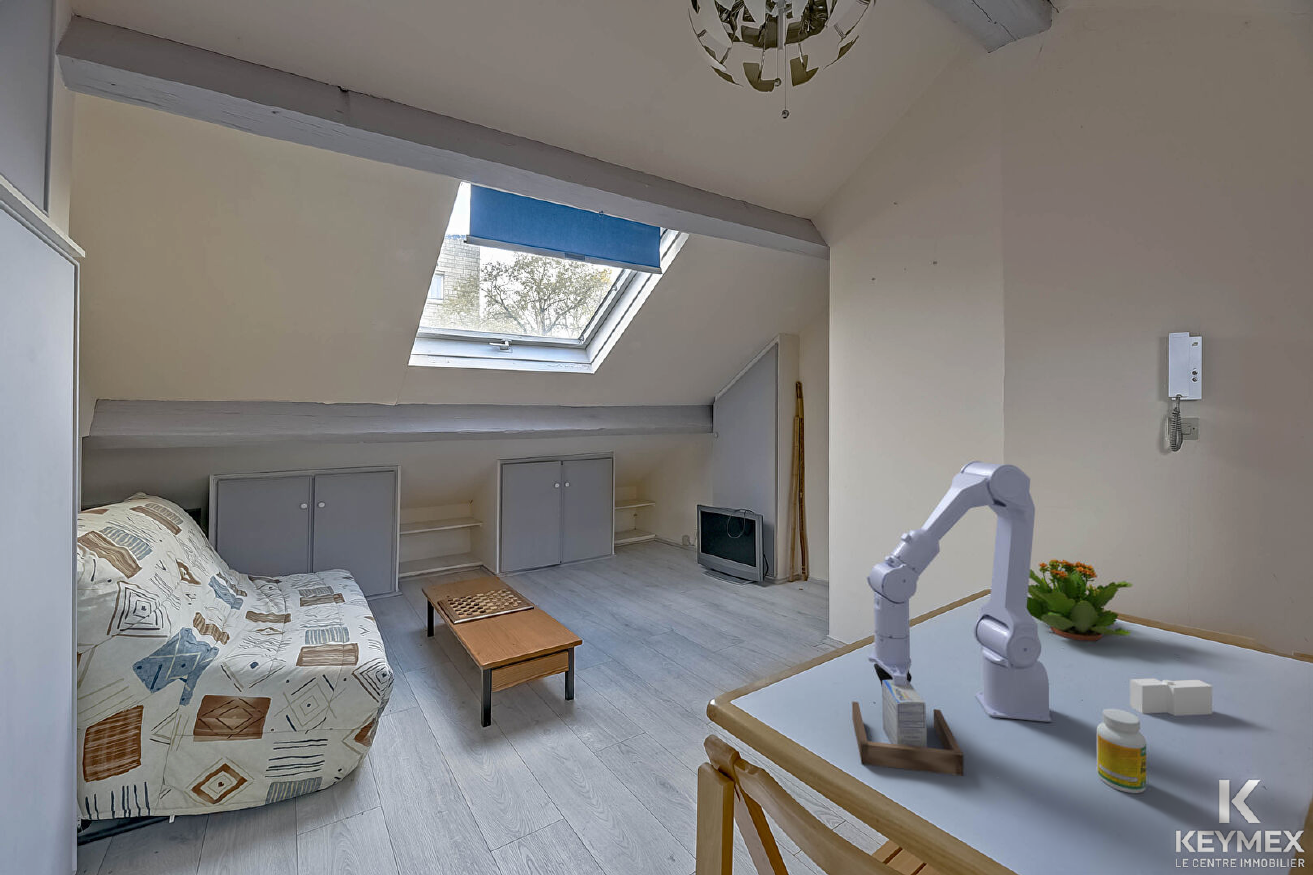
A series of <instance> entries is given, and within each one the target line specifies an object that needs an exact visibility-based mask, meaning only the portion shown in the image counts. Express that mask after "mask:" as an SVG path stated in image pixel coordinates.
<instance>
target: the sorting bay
mask: <svg viewBox="0 0 1313 875" xmlns="http://www.w3.org/2000/svg"><path fill="white" fill-rule="evenodd" d="M851 702H852V703H851V706H852V707H851V709H852V711H851V712H852V717H851V718H852V723H853V727H854V734H855V737H856V743H857V748H858V752H859V758H860V761H861V762H860V763H861V764H862V765H868V766H869V765H871V766H879V767H886V768H887V767H888V768H894V769H904V770H910V771H911V770H912V771H921V772H928V773H937V774H944V775H945V774H947V775H953V776H954V775H955V776H962V777H964V776H965V775H964V754H963V751H962V750H961V747H960V746H959V744H958V742H957V740H956V738H955V736H954V735H953V733H952V730H951V729H950V726H949V725H948V723H947V721H946V719H945V717H944V715H943V713H942V710H941V709H937V708H935V709H933V728H934V730H935V733H936V735H937V738H939V741H940V743H941V745H942V748H943V749H940V748H934V747H927V748H925V747H916V746H907V745H898V744H892V743H888V742H878V741H871V740H870V741H869V740H868V738H867V733H866V729H865V725H864V721H863V716H862V712H861V708H860V707H861V706H860V704H859V702H858V701H851Z"/></svg>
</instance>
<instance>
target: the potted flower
mask: <svg viewBox="0 0 1313 875" xmlns="http://www.w3.org/2000/svg"><path fill="white" fill-rule="evenodd" d="M1038 566H1039V569H1038V571H1039V572H1041V573H1042V577H1039V576H1038V574H1036V573H1035V571H1034V570H1032V569H1031V568H1030V574H1029V579H1030V580H1032V581H1034V582H1035V584H1029V586H1028V595H1029V596H1030V597H1029V596H1028V597H1027V610H1028V611H1029V613H1030V614H1031V616H1032V617H1033V618H1034V619H1035V620H1038V621H1041V622H1043V623H1044V624H1046V625H1048V626H1050V629H1051V631H1052V632H1054V634H1056V635H1058V636H1060V637H1063V638H1067V639H1071V640H1076V641H1084V642H1085V641H1087V642H1094V641H1098V640H1100V639H1101V638H1102V637H1103V635H1106V636H1130V635H1131V634H1130V633H1131V631H1129V630H1125V629H1123V627H1120V628H1116V629H1112V628H1107V627H1111V626H1112V625H1114V624H1115V622H1117V619H1118V617H1119V615H1118V613H1115V612H1114V611H1112V610H1105V606H1107V605H1108V603H1109V602H1110V601H1111V600H1113V598H1114V597H1115V595H1116V593H1117V592H1118V590H1119V589H1121V588H1131V587H1133V584H1132V583H1131V582H1127V581H1126V580H1124V581H1123V580H1122V581H1117V583H1116V582H1115V581H1112V582H1109V584H1108V585H1107V584H1106V585H1105V586H1103V585H1102V584H1100V585H1098V586H1097V587H1096V586H1093V585H1092V584H1091V583H1090V584H1089V585H1088V582H1094V581H1095V578H1097V577H1098V574H1096V571H1095V569H1094V567H1093V566H1092V565H1089V564H1085V563H1082V562H1081V561H1076V562H1075V563H1073V562H1069V561H1068V560H1066V559H1062V561H1061V560H1058V559H1056V558H1053V559H1050V560H1049V562H1048V564H1047V563H1045V562H1041V563H1039V564H1038ZM1059 568H1060V569H1059ZM1046 572H1049V574H1050V577H1051V578H1050V577H1048V580H1050V582H1049V583H1048V582H1047V580H1046V576H1045V574H1046ZM1051 584H1052V586H1050V585H1051ZM1052 587H1053V588H1052ZM1087 591H1088V594H1087ZM1104 610H1105V611H1104Z"/></svg>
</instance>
